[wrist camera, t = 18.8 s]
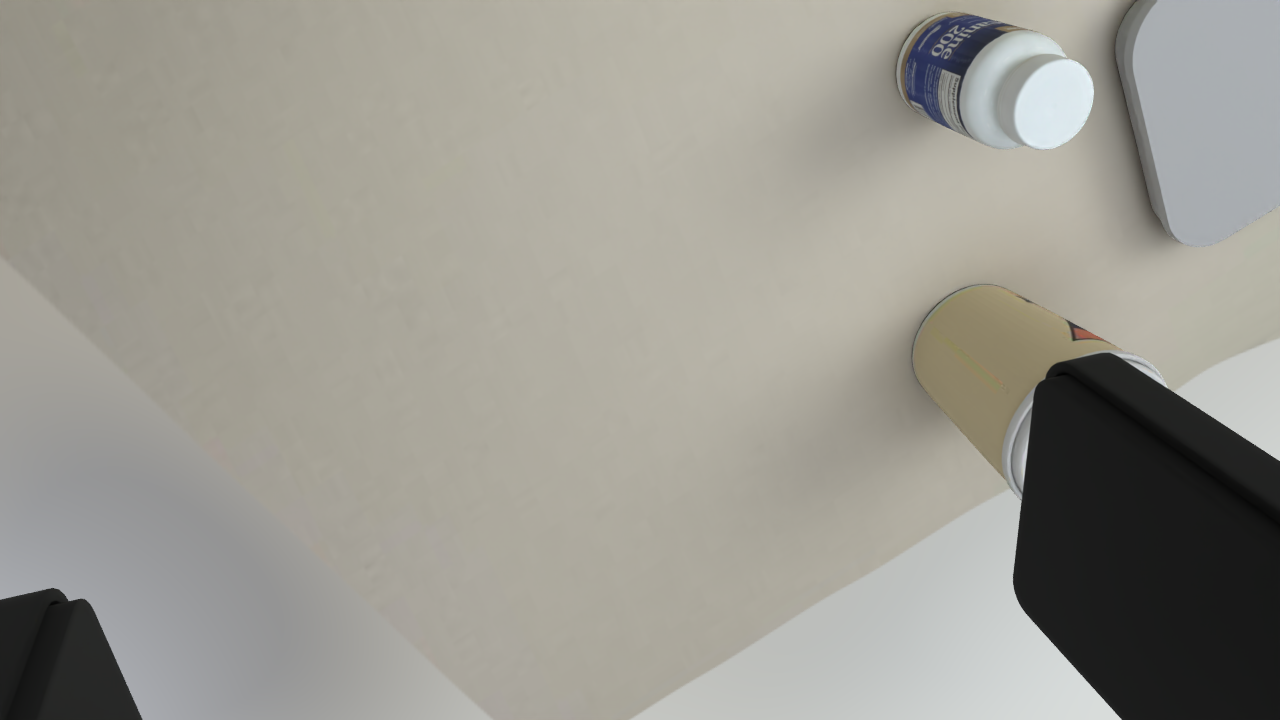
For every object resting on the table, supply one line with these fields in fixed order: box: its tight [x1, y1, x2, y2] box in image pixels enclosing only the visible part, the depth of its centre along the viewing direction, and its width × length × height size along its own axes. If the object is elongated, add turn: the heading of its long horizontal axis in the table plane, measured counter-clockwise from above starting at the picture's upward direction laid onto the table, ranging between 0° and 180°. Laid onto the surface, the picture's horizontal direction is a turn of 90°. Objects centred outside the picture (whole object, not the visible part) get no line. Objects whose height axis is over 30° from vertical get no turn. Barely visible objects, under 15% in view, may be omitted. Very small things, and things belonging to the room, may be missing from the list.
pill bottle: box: [896, 12, 1094, 150], centre depth 49 cm, size 5×5×10 cm
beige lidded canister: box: [912, 284, 1167, 500], centre depth 56 cm, size 9×9×12 cm
